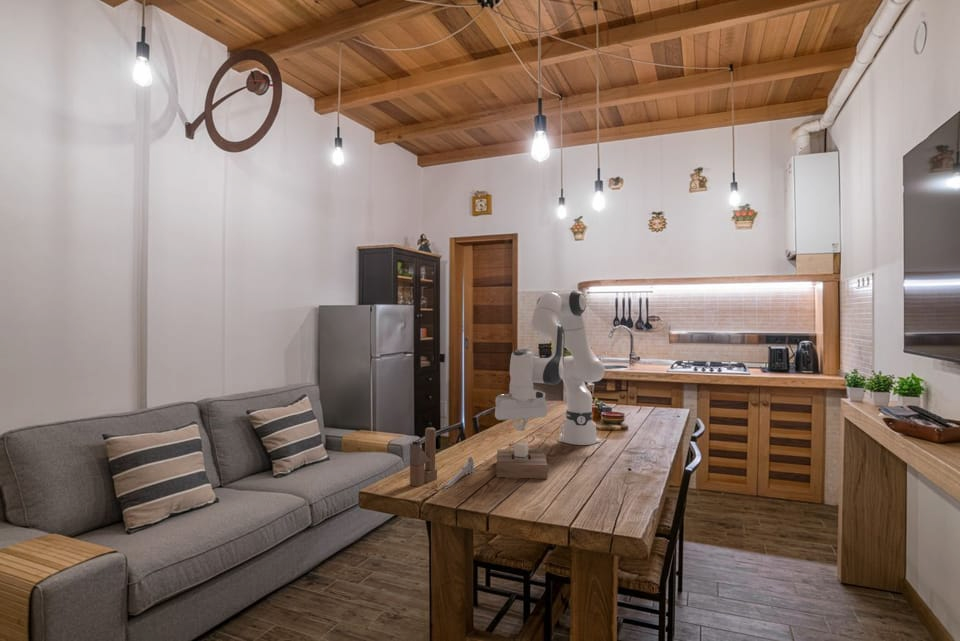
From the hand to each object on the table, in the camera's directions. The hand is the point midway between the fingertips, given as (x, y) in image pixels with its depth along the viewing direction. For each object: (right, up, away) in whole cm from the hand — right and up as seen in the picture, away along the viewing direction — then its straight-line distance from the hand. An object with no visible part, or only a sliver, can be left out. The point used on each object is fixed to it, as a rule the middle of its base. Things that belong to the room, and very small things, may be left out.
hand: (520, 430), depth 190 cm
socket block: (0, -15, 0) cm, 15 cm away
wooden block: (-35, -15, -14) cm, 40 cm away
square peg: (0, -15, 0) cm, 15 cm away
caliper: (-22, -15, -12) cm, 30 cm away
